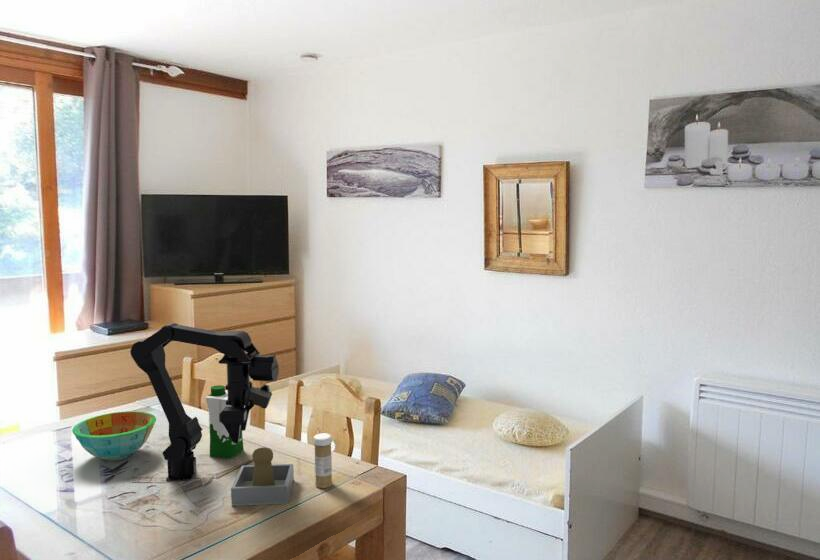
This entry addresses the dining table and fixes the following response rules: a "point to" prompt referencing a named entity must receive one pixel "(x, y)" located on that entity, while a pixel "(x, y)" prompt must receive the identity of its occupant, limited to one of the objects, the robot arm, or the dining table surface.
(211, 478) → the dining table surface
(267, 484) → the cork
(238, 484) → the box
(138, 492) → the dining table surface
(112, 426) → the bowl
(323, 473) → the sprinkles bottle
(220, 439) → the milk carton
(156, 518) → the dining table surface
